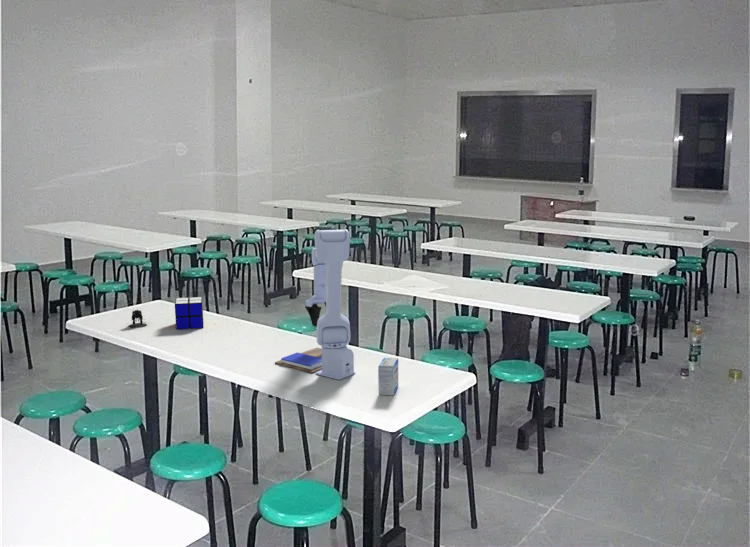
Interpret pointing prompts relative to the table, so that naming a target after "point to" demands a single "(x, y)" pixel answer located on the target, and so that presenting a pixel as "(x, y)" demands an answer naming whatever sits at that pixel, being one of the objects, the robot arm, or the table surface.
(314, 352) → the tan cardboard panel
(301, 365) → the hard drive
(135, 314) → the toy robot
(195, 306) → the puzzle cube
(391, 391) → the medicine box
